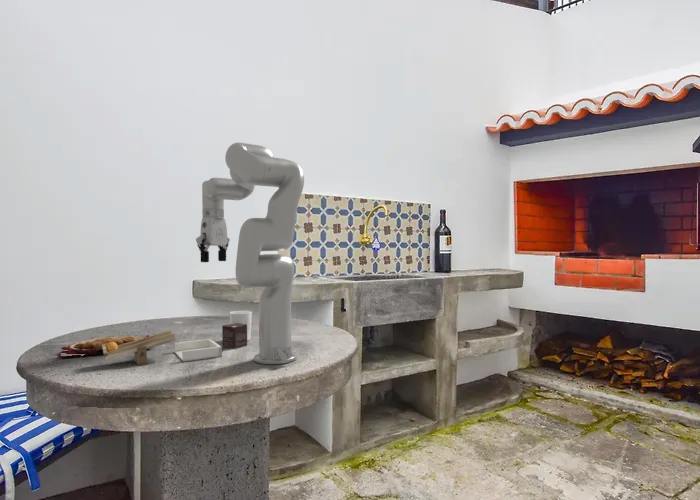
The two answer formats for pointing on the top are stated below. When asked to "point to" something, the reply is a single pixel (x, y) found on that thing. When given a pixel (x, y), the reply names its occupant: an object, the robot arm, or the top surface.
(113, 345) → the ball
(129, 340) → the plate with food
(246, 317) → the white cup
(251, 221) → the robot arm
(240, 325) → the box
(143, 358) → the fulcrum
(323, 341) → the top surface
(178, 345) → the dish
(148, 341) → the lever
